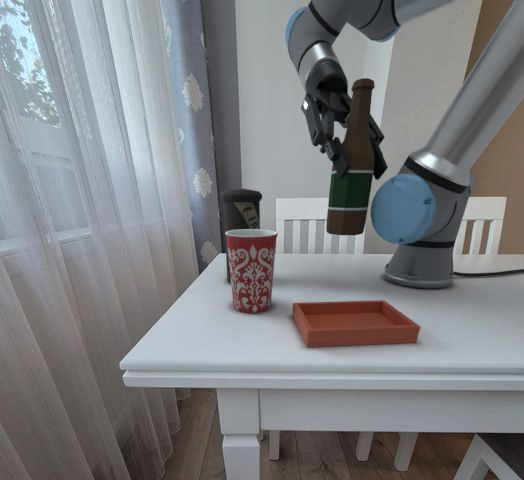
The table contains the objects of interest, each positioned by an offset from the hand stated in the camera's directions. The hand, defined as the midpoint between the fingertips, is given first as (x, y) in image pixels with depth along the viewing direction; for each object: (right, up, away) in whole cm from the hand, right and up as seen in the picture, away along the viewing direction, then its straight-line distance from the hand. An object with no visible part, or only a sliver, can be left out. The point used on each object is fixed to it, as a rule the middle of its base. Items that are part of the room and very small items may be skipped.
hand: (363, 173), depth 53 cm
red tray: (-4, -28, -5) cm, 29 cm away
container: (-23, -15, +20) cm, 34 cm away
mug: (-21, -23, +5) cm, 31 cm away
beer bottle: (-1, -8, +8) cm, 11 cm away
